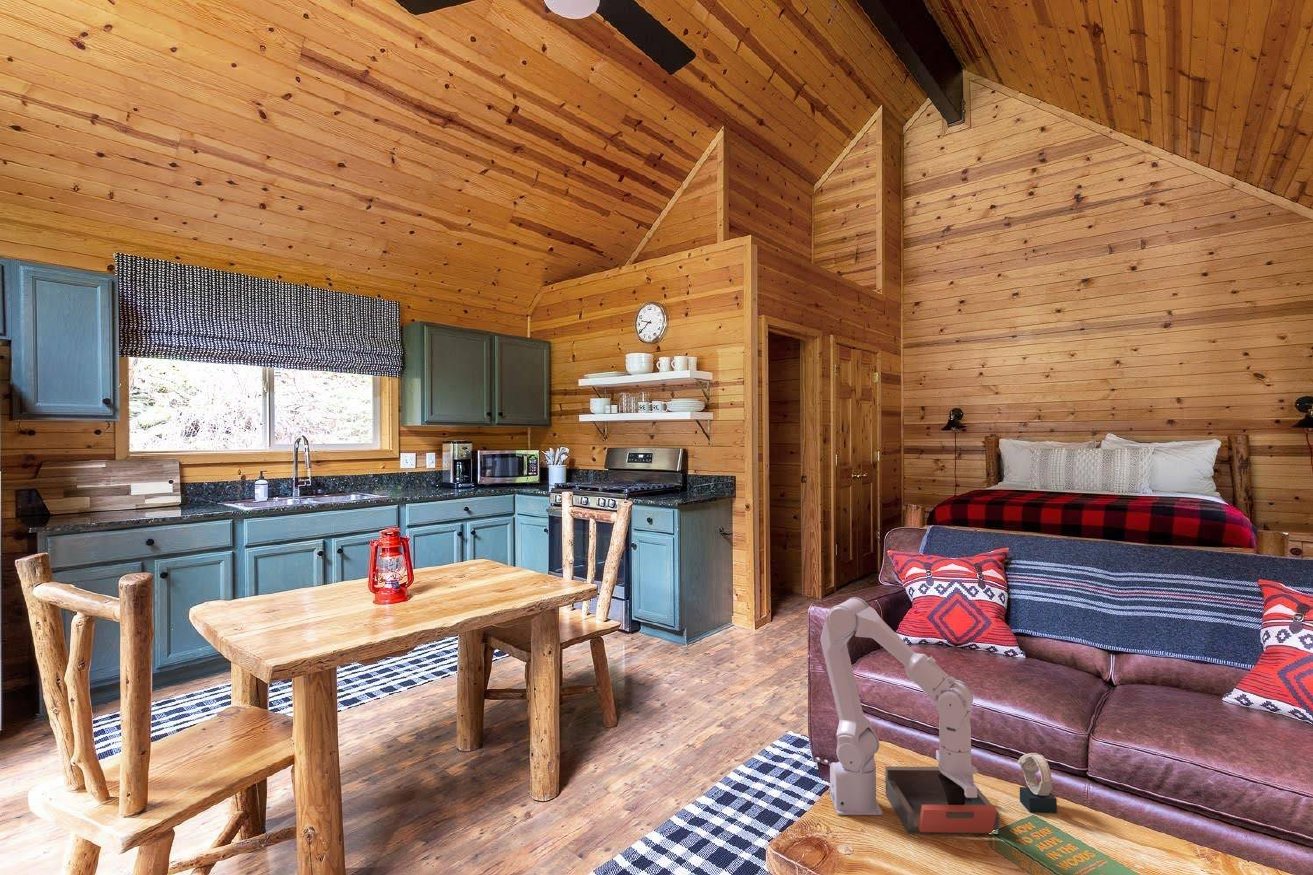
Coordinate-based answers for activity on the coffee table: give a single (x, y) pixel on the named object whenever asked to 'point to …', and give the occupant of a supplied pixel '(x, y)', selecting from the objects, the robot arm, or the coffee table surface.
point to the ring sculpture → (1034, 794)
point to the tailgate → (957, 818)
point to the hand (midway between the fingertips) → (956, 813)
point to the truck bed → (921, 795)
